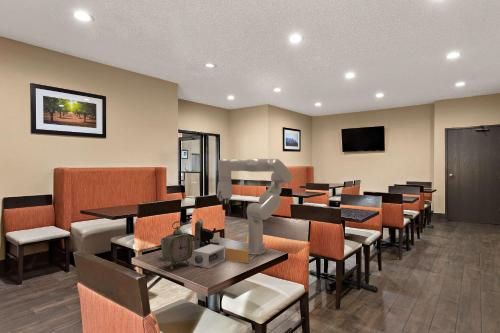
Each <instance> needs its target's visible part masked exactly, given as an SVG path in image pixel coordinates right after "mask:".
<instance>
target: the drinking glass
mask: <svg viewBox="0 0 500 333" xmlns="http://www.w3.org/2000/svg"><path fill="white" fill-rule="evenodd" d="M163 240H164V237H161V239H160V246H161V257H162V258H161V259H162V260H163V261H167V260H165V259H164V255H163ZM167 262H168V261H167Z"/></svg>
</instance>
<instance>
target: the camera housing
mask: <svg viewBox="0 0 500 333" xmlns="http://www.w3.org/2000/svg"><path fill="white" fill-rule="evenodd" d="M225 248H227V247H226V246H224V245H220V244H219V245H213V244H210V245H207V246H204V247H201V248H199V249H196V250H194V249H193V250H192V255H193V256H192V257H193V258H192V261H193V266H196V267H202V268H206V269H210V268H212V267H214V266H217V265H218V264H220V263H222V262H225V261H226V260H225Z"/></svg>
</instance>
